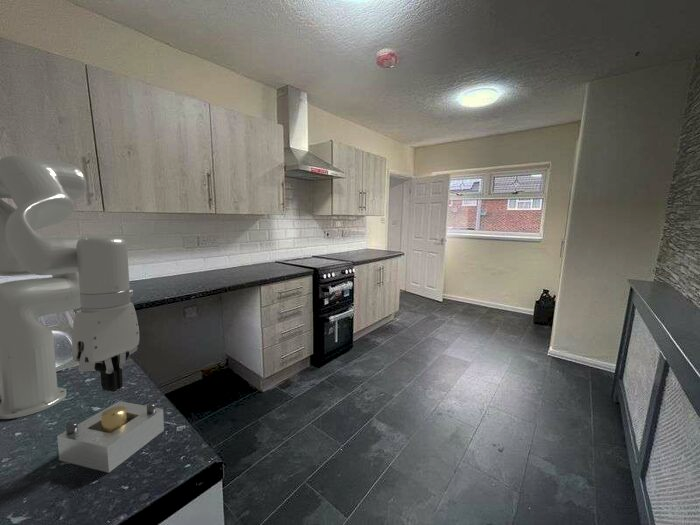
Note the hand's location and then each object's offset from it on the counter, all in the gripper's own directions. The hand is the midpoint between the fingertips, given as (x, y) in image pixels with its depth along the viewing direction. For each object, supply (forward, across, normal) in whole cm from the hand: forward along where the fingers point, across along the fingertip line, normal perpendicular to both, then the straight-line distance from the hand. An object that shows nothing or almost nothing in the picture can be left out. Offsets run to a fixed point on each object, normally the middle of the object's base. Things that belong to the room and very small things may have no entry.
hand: (112, 388), depth 59 cm
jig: (+12, 0, 0) cm, 12 cm away
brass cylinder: (+12, 0, 0) cm, 12 cm away
